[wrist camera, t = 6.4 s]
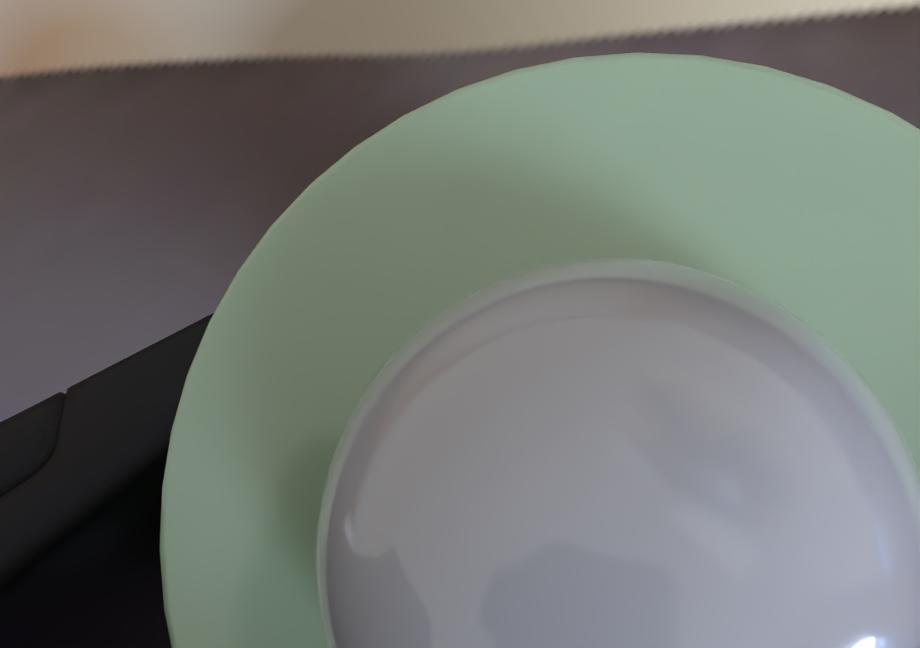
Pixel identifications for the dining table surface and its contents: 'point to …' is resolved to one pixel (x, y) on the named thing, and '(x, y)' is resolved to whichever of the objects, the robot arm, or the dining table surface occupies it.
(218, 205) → the dining table surface
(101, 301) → the dining table surface
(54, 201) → the dining table surface
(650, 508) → the pepper mill
